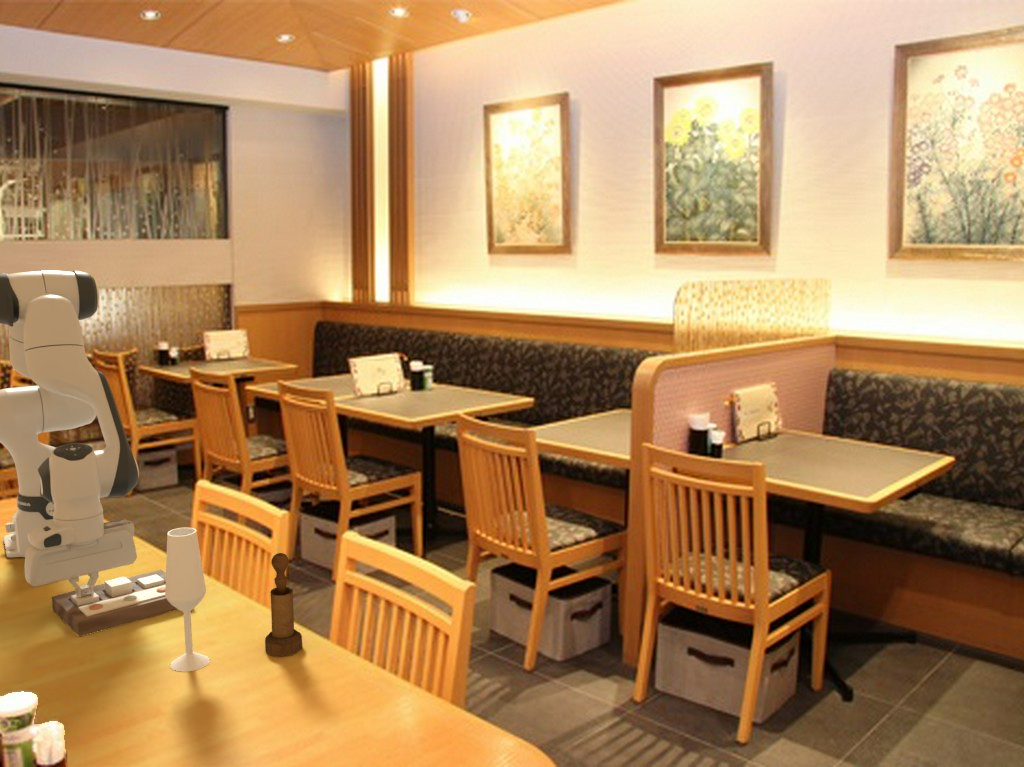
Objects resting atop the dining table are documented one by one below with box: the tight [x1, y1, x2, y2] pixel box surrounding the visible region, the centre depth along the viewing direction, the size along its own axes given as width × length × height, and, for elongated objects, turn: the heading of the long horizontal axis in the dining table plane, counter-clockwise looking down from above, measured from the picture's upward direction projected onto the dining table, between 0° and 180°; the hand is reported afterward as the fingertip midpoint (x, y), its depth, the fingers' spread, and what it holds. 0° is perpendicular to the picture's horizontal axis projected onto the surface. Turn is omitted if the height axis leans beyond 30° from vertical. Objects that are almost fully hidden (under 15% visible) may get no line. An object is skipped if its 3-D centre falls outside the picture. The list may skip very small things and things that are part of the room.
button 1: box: [71, 592, 99, 607], centre depth 189 cm, size 4×4×3 cm
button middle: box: [103, 576, 133, 598], centre depth 193 cm, size 4×4×3 cm
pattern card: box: [78, 585, 165, 616], centre depth 188 cm, size 5×18×1 cm, turn 132°
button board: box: [51, 569, 178, 637], centre depth 192 cm, size 16×22×3 cm
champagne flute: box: [165, 527, 211, 673], centre depth 166 cm, size 7×7×24 cm
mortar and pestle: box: [264, 552, 303, 658], centre depth 172 cm, size 7×6×18 cm
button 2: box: [137, 574, 164, 589], centre depth 197 cm, size 4×4×3 cm
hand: (84, 595), depth 189 cm, fingers closed
